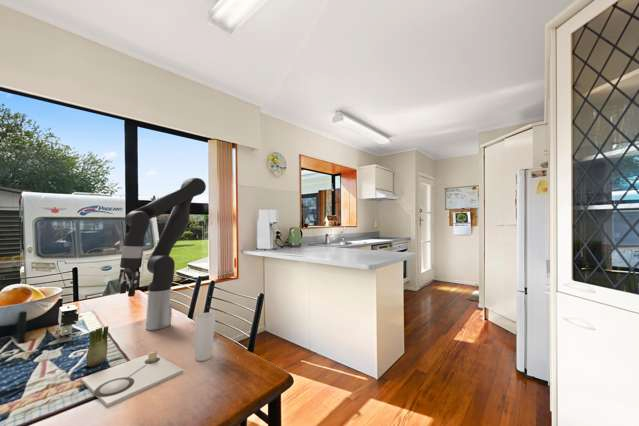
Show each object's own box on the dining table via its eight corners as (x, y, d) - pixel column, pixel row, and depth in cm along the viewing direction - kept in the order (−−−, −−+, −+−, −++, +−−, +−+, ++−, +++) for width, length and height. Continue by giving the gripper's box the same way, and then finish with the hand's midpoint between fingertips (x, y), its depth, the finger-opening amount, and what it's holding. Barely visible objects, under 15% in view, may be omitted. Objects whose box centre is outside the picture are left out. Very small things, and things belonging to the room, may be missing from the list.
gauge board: (153, 354, 94) (153, 345, 94) (183, 372, 83) (183, 361, 83) (78, 381, 77) (79, 370, 77) (104, 408, 66) (105, 394, 66)
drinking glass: (217, 355, 94) (219, 313, 95) (203, 364, 88) (206, 319, 89) (202, 352, 97) (204, 311, 98) (188, 360, 90) (190, 317, 91)
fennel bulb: (105, 358, 90) (108, 324, 91) (109, 363, 87) (111, 327, 88) (83, 365, 86) (86, 328, 87) (86, 370, 83) (89, 332, 84)
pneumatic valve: (59, 339, 105) (62, 309, 105) (56, 331, 112) (59, 303, 113) (78, 335, 109) (80, 306, 110) (74, 328, 116) (76, 301, 117)
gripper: (149, 257, 111) (144, 296, 109) (134, 255, 119) (129, 291, 117) (129, 258, 105) (123, 298, 103) (115, 255, 113) (109, 293, 111)
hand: (126, 294), depth 110 cm, fingers open, 8 cm apart
